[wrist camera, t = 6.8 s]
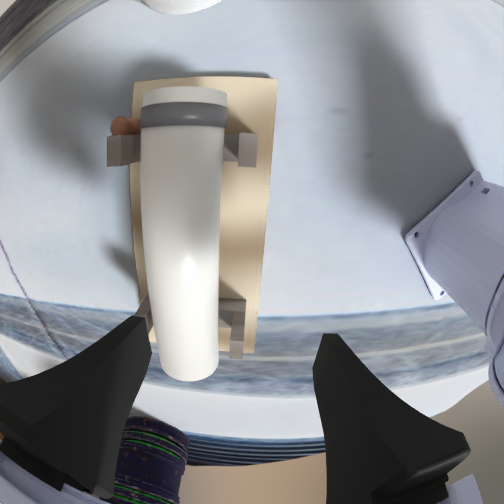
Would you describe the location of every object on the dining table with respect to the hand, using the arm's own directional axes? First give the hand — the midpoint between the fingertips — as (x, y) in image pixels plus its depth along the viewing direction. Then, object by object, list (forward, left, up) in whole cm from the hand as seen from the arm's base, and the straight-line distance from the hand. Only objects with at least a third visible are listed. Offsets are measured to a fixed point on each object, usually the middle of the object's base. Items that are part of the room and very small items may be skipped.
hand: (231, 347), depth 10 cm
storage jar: (+28, +12, -10) cm, 32 cm away
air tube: (+1, -4, -5) cm, 6 cm away
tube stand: (+1, -3, -9) cm, 10 cm away
